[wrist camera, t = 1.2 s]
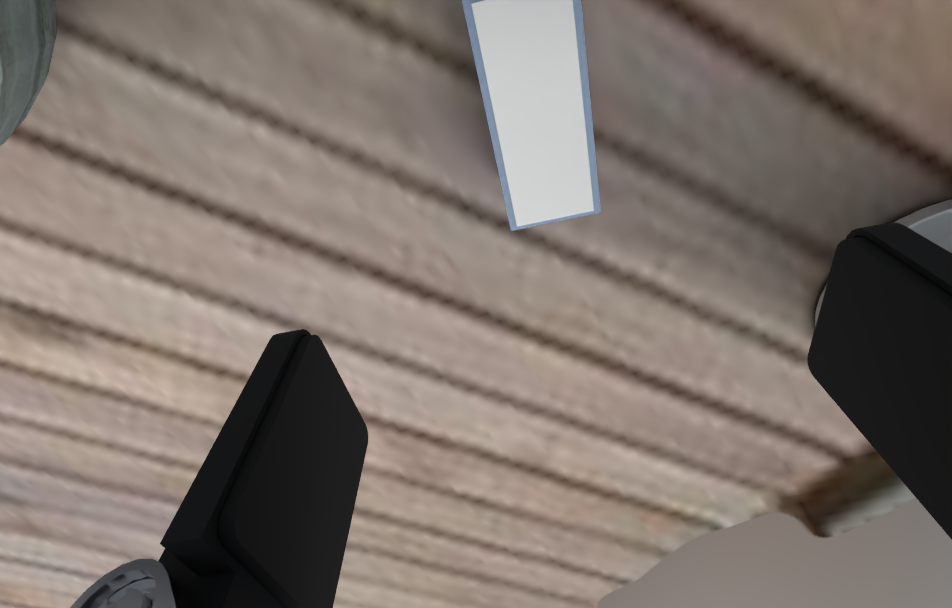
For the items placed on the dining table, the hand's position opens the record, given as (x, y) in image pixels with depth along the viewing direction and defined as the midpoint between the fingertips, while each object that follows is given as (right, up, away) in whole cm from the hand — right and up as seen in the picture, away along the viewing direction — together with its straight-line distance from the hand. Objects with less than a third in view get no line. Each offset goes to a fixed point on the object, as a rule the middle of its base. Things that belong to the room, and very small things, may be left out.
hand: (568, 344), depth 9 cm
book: (+1, +11, +14) cm, 18 cm away
